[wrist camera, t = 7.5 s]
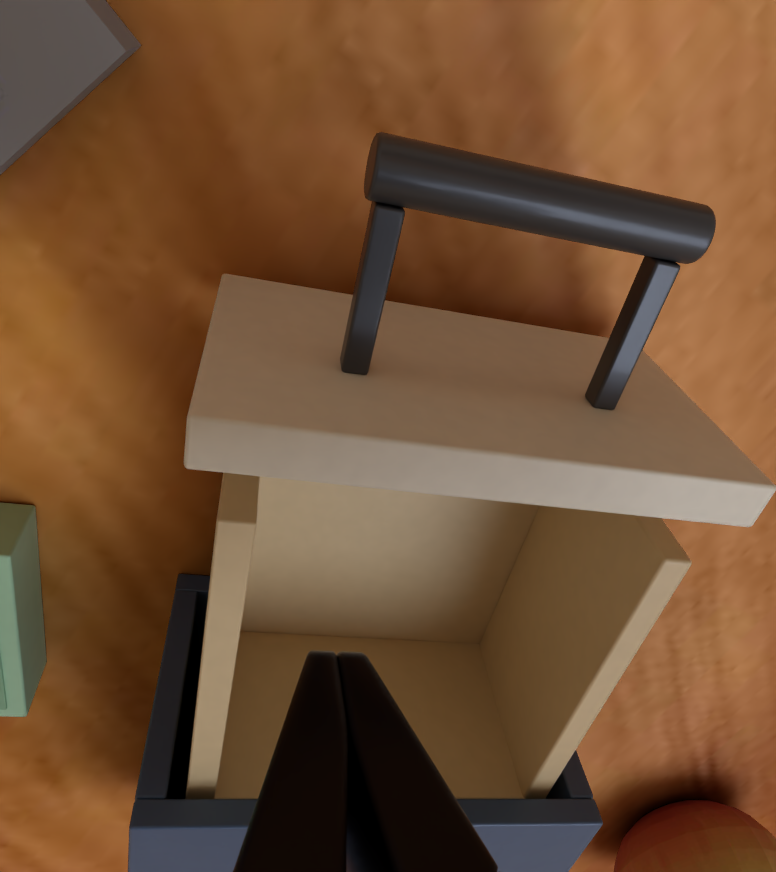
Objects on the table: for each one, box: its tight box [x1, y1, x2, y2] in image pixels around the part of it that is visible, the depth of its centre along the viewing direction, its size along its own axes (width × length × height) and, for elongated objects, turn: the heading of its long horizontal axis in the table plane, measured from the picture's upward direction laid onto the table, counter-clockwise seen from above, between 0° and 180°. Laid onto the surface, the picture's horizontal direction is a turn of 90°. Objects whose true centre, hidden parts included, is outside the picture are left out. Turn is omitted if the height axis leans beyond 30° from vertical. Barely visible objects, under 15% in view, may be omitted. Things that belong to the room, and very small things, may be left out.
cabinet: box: [128, 574, 603, 872], centre depth 26 cm, size 15×14×9 cm
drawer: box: [184, 132, 776, 799], centre depth 18 cm, size 18×12×7 cm
